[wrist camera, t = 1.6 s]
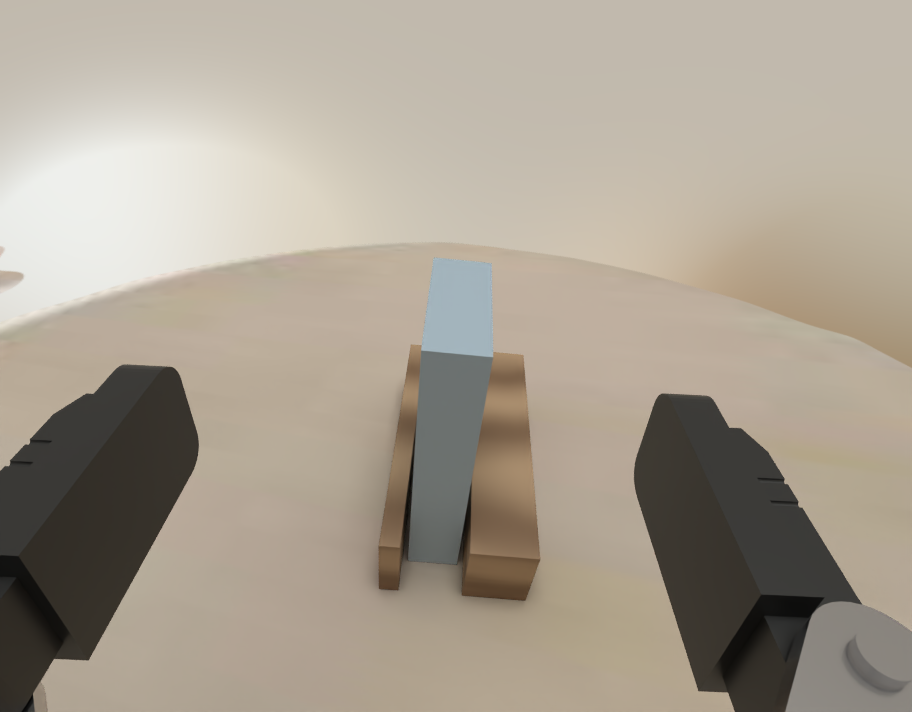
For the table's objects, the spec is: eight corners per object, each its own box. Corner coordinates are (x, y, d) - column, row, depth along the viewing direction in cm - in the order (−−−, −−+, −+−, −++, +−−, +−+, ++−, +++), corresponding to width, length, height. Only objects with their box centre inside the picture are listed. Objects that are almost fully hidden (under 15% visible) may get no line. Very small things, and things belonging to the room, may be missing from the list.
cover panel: (456, 564, 36) (493, 357, 24) (407, 560, 36) (421, 350, 24) (460, 466, 42) (491, 263, 30) (418, 463, 42) (433, 257, 30)
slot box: (525, 600, 35) (540, 559, 31) (378, 588, 34) (378, 545, 31) (513, 398, 48) (523, 355, 45) (409, 388, 48) (411, 344, 45)
